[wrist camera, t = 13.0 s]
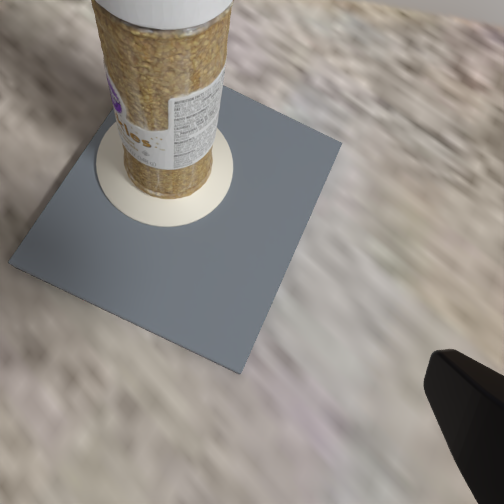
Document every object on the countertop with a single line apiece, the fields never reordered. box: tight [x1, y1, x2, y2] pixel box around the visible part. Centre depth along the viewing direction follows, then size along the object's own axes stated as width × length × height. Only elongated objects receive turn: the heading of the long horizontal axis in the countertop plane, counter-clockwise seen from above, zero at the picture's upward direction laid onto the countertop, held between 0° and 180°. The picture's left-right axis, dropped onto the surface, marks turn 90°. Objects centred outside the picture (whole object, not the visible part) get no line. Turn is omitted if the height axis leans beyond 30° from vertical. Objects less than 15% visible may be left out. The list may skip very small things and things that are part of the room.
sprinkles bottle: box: [91, 0, 234, 199], centre depth 17 cm, size 5×5×14 cm
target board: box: [8, 85, 342, 374], centre depth 24 cm, size 14×12×1 cm
